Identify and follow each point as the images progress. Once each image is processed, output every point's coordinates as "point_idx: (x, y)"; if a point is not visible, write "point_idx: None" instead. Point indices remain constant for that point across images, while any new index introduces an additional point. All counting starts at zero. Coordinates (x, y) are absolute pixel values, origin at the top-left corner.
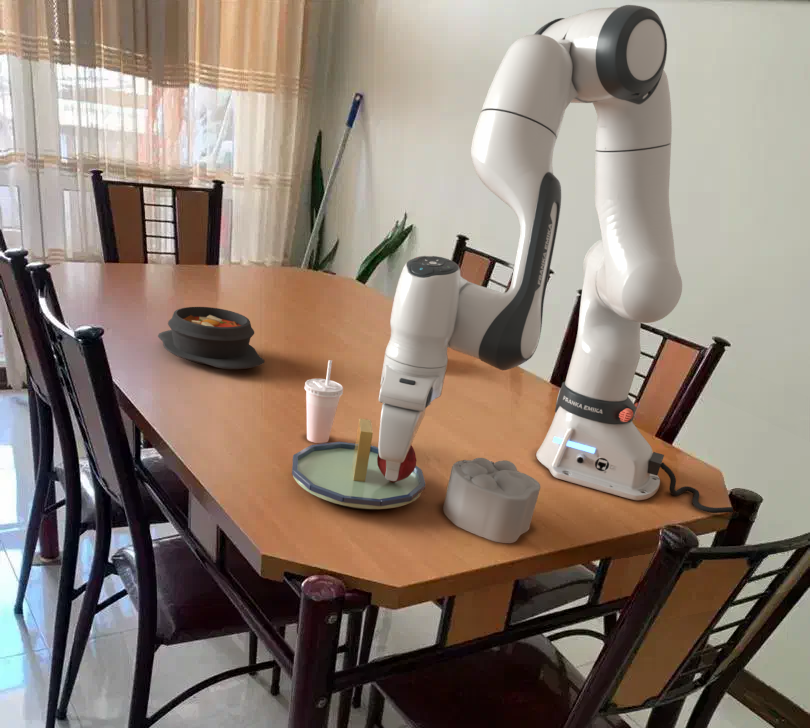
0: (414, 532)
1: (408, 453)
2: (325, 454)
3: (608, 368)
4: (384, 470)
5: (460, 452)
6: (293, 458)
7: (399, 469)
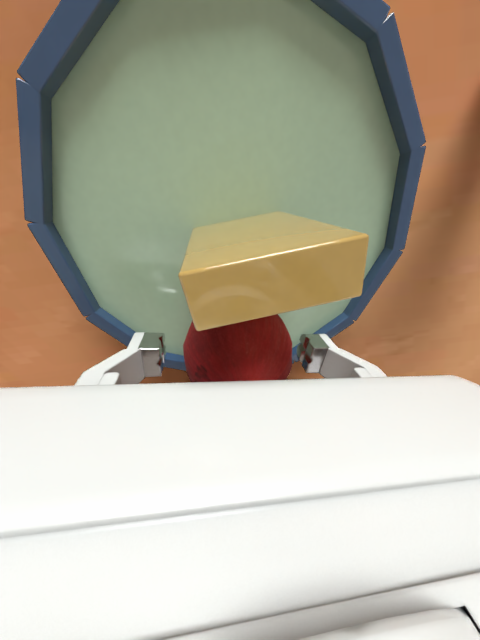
0: (108, 356)
1: None
2: (345, 102)
3: None
4: (192, 320)
5: (427, 375)
6: None
7: (150, 374)
